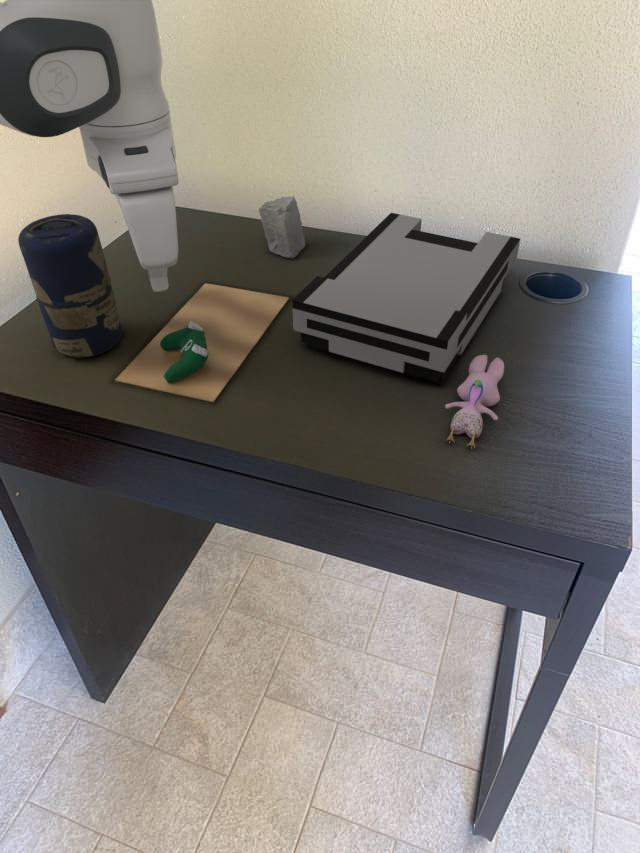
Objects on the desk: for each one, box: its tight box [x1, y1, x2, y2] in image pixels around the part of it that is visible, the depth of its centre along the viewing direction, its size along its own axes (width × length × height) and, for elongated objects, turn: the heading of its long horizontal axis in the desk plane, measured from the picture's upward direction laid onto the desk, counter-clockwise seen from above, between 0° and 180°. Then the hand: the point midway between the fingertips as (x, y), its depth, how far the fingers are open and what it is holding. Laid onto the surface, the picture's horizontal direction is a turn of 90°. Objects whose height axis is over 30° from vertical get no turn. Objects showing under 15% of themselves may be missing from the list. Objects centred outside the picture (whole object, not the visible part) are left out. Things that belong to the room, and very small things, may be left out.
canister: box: [17, 213, 123, 358], centre depth 88 cm, size 10×10×18 cm
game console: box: [291, 212, 521, 385], centre depth 96 cm, size 21×32×8 cm, turn 152°
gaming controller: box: [160, 321, 208, 383], centre depth 89 cm, size 9×4×6 cm
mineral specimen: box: [258, 195, 306, 260], centre depth 112 cm, size 7×9×8 cm
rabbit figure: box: [444, 354, 505, 450], centre depth 81 cm, size 6×6×15 cm
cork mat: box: [114, 282, 290, 403], centre depth 95 cm, size 26×14×1 cm, turn 161°
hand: (152, 268), depth 77 cm, fingers open, 8 cm apart
